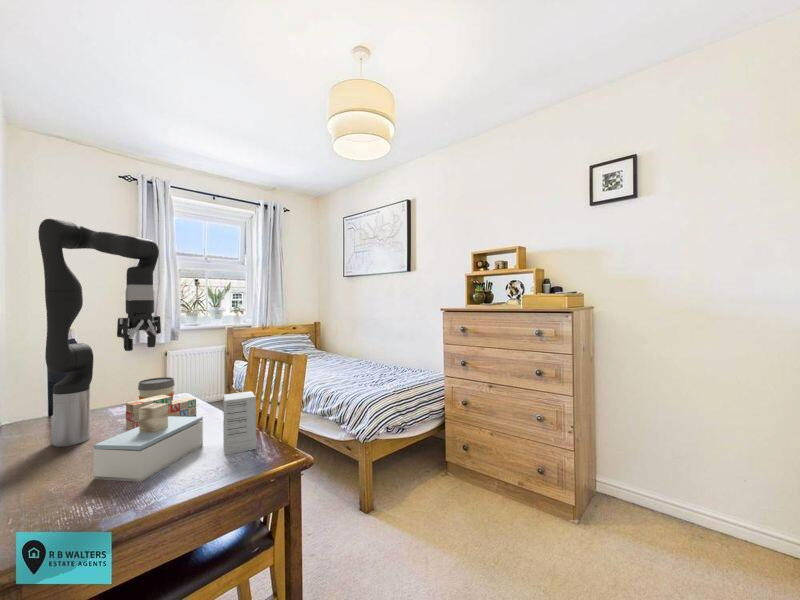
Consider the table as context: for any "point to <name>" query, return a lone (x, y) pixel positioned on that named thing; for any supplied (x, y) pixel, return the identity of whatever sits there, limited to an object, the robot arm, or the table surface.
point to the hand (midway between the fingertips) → (140, 348)
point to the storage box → (146, 456)
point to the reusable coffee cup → (156, 387)
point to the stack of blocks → (175, 407)
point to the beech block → (153, 417)
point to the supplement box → (239, 422)
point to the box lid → (146, 435)
